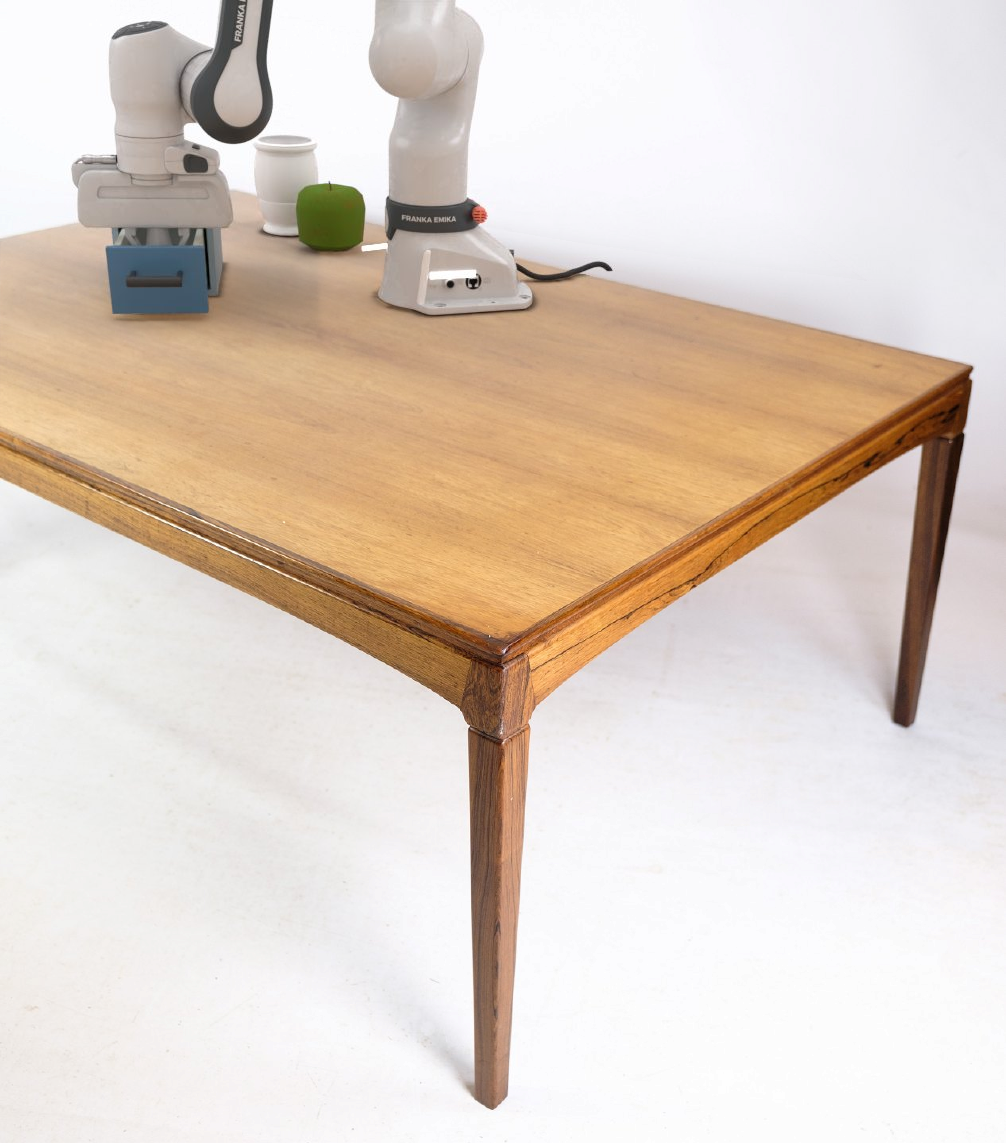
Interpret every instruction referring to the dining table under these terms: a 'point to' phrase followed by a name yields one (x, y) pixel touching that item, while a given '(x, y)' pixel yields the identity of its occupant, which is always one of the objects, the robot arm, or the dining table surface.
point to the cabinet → (212, 255)
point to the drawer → (159, 274)
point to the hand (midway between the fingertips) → (160, 259)
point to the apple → (330, 217)
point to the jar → (283, 178)
